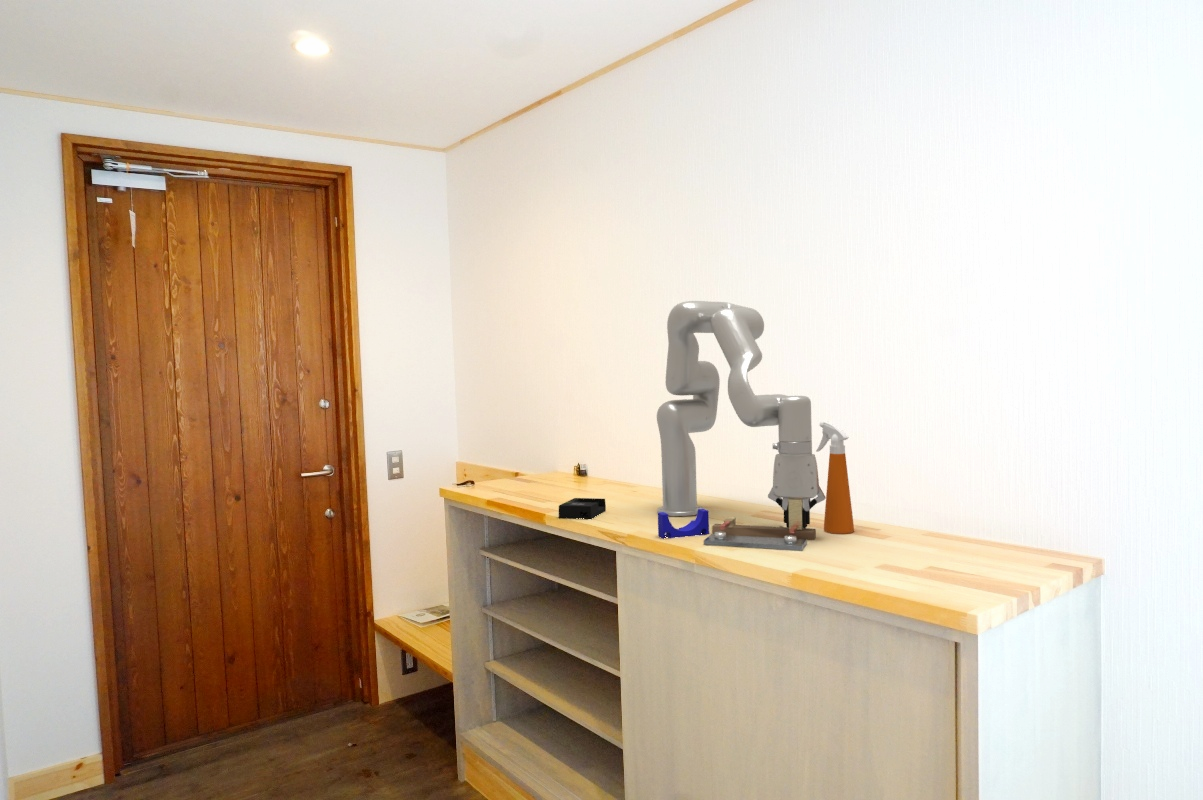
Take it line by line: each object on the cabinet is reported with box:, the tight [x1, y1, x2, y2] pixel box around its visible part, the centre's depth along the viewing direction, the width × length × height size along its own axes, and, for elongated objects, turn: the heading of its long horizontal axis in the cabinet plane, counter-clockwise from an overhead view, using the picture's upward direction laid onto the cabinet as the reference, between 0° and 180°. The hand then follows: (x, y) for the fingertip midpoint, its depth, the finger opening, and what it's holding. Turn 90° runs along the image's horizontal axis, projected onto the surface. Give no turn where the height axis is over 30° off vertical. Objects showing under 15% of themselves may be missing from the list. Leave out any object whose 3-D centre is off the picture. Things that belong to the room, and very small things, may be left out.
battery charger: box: [558, 497, 607, 520], centre depth 221 cm, size 13×10×4 cm
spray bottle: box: [815, 421, 855, 535], centre depth 190 cm, size 7×11×26 cm, turn 25°
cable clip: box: [657, 508, 710, 540], centre depth 190 cm, size 12×4×6 cm, turn 107°
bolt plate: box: [703, 532, 808, 552], centre depth 178 cm, size 7×22×2 cm, turn 67°
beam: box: [711, 516, 817, 541], centre depth 184 cm, size 10×24×4 cm, turn 67°
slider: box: [788, 498, 804, 533], centre depth 180 cm, size 10×3×7 cm, turn 157°
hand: (796, 526), depth 183 cm, fingers closed on slider, 3 cm apart
